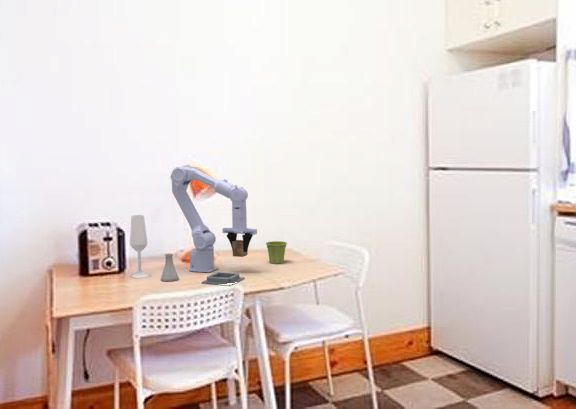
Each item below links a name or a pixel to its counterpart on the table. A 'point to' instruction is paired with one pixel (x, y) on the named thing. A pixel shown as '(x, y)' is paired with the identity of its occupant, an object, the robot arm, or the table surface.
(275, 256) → the plant pot
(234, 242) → the block
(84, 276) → the table surface
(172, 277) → the flask
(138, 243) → the champagne flute
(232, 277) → the holder
